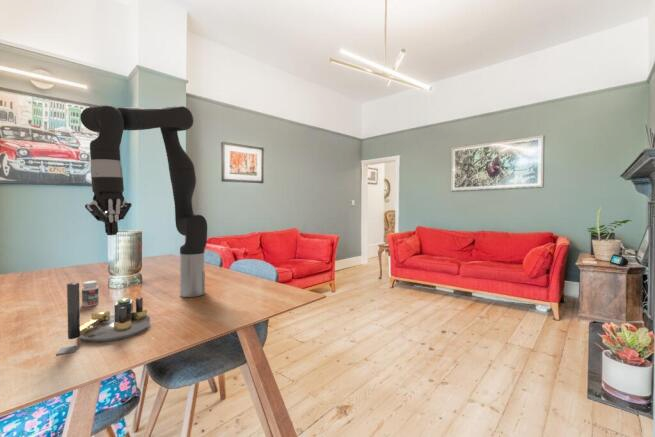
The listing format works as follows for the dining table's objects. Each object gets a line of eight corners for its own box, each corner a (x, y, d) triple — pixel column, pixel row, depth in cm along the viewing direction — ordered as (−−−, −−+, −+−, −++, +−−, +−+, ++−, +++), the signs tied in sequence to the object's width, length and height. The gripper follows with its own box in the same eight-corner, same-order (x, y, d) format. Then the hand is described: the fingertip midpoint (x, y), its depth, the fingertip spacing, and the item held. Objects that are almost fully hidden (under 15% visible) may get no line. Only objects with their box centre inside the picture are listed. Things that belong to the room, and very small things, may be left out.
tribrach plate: (152, 316, 99) (152, 289, 99) (146, 336, 84) (146, 305, 84) (88, 323, 92) (88, 295, 92) (69, 347, 77) (68, 314, 76)
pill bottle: (89, 307, 107) (89, 284, 106) (78, 306, 108) (78, 283, 107) (101, 303, 111) (101, 280, 111) (91, 302, 112) (91, 280, 112)
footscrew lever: (97, 317, 91) (96, 271, 91) (112, 316, 92) (112, 271, 92) (61, 339, 76) (60, 285, 76) (80, 338, 77) (79, 284, 76)
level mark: (79, 346, 78) (79, 345, 78) (74, 352, 74) (74, 351, 74) (61, 348, 76) (61, 347, 76) (55, 355, 73) (55, 354, 73)
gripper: (93, 174, 80) (99, 238, 82) (137, 177, 93) (141, 232, 95) (73, 175, 83) (79, 238, 84) (118, 177, 95) (123, 232, 97)
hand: (112, 234), depth 89 cm, fingers closed
